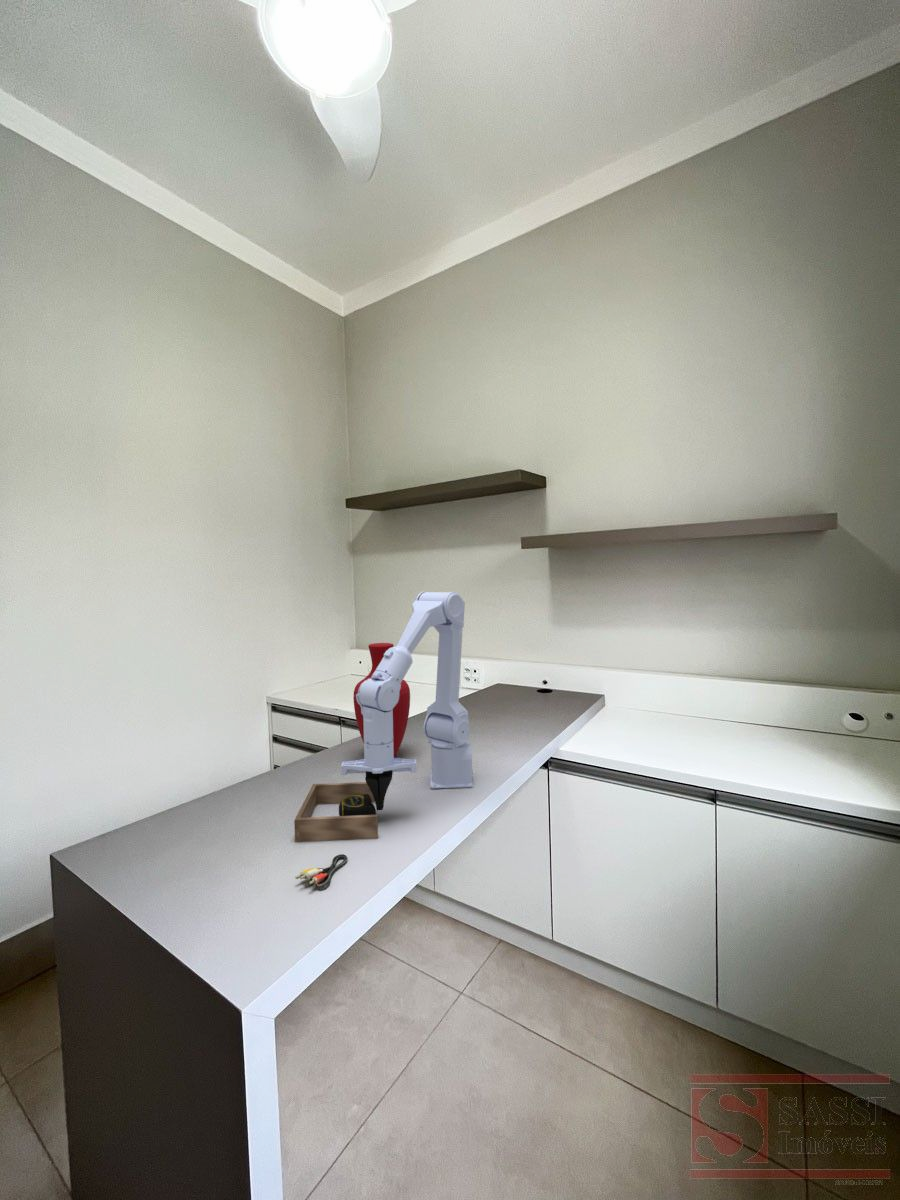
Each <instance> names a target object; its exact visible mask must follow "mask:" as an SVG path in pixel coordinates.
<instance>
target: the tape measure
mask: <svg viewBox="0 0 900 1200" xmlns="http://www.w3.org/2000/svg"><path fill="white" fill-rule="evenodd" d="M338 804H339V805H338V816H356V815H377V809H376V805H375V804H374V802H372V800H371V798H370V796H369V794H363V795H351V796H348V797H346V798H344V799H342V801H341V802H340V803H338Z"/></svg>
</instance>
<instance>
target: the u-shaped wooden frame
mask: <svg viewBox="0 0 900 1200" xmlns="http://www.w3.org/2000/svg"><path fill="white" fill-rule="evenodd" d="M363 794H369V796H370V798H371V800H372V803H375V800H374V797H373V794H372V792H371V790H370V788H369V786H368V785H367V783H366V781H359V782H357V781H356V782H354V781H353V782H332V783H331V782H329V783H313V784H312V786H311V787H310V789H309V791H308V793H307V795H306V796H305V799H304V801H303V803H302V805H301V807H300V809H299V810H298V812H297V814H296V816H295V818H294V820H293V822H294V824H293V825H294V842H295V843H298V842H322V841H343V840H346V841H347V840H365V839H366V840H368V839H379V838H378V837H379V825H378V823H379V820H378V818H379V815H378V814H376V815H356V816H339V815H337V816H317V817H316V816H315V817H312V815H313V813H314V811H315V809H316V807H317V805H327V804H329V805H330V804H340V802H341V801H342V799H344V798H346V797H348V796H351V795H363Z"/></svg>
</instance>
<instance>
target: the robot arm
mask: <svg viewBox="0 0 900 1200" xmlns="http://www.w3.org/2000/svg"><path fill="white" fill-rule="evenodd" d="M465 605H466V604H465V601H464V599H463V598H462V597H461V595H460V593H459V592H457V591H447V592H446V591H445V592H444V591H438V592H436V591H425V590H424V591H420V592H419V593H418V595H417V596H416V598H415V600H414V601H413V602H412V606H411V607H412V615H411V617H410V618H409V620H408V623H407V625H406V627H405V628H404V631H403V633H402V635H401V636H400V638H399V641H398V643H397V644H396V645H395V646H393V647H392V648H389V649H388V650H387V651H386V652H385V653H384V657H383V659H382V660H381V662H380V664H379V665H378V667H377V668H376V670H375V672H374V673H373V675H372V677H371V678H370V679H367V680H365V681H364V682H363V683H362V684H361V685H360V687H359V690H358V694H356V699H357V702H358V704H359V705H360V707H361V714H362V715H363V723H364V743H363V754H364V755H363V756H364V757H363V758H362V759H356V760H350V761H349V760H348V761H342V762H341V765H340V771H341V772H340V773H341V776H346V775H347V776H348V775H349V774H364V773H365V782H366V783H367V785H368V786H369V788H370V790H371V792H372V794H373V797H374V800H375V802H374V803H375V804H374V805H375V809H376V811H383V810H384V804H385V803H384V802H385V799H386V795H387V791H388V788H389V786H390V784H391V782H392V779H393V775H394V774H393V773H394V772H395V773H397V772H398V773H399V772H410V773H417V758H414V759H413V758H401V757H395V758H394V750H393V708H394V707H395V705H396V704H397V703H398V700H399V691H400V689H401V682H402V680H405V679H404V678H405V677H406V675H407V673H408V671H409V669H410V668H411V666H412V664H413V662H414V661H413V656H412V654H413V652H414V651H415V649H416V648H417V646H418V645H419V643H420V642H421V640H422V639H423V637H424V636H425V635H426V633H427V632H428V630H429V629H430V628H431V627H433V628H434V629H435V630H436V631H437V632H438V651H437V668H436V669H437V670H436V684H435V686H436V687H435V701H434V702H432V703H431V704H430V705H429V706H427V708H426V716H425V718H424V721H423V728H422V729H423V734H424V735H425V737H426V738H427V739H428V743H429V744H430V750H431V753H430V755H431V758H430V759H431V760H430V761H431V772H430V773H429V785H430V787H429V788H430V789H449V788H450V789H452V788H453V789H456V788H457V789H458V788H472V787H473V775H474V774H473V773H474V769H473V753H472V745H471V744H472V743H471V742H467V741H468V740H469V737H470V733H471V726H470V721H469V711H468V710H467V709H466V708H465V707H464V705H462V703H460V683H461V682H460V681H461V668H462V667H461V664H462V663H461V662H462V649H463V648H462V647H463V646H462V644H463V631H464V630H463V628H464V625H465V624H464V623H465V610H466V609H465Z"/></svg>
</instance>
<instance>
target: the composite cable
mask: <svg viewBox="0 0 900 1200" xmlns="http://www.w3.org/2000/svg"><path fill="white" fill-rule="evenodd" d="M340 860H341V862H340V863H339V864H338V865H337V863H338V862H339V861H340ZM342 860H343V861H342ZM347 862H348V856H347V855H346V854H344V853H343V854H337V855H336V856H334V857H333V859H332V861H331V864H330V866H328V867H325V868H323V867H316V868H312V867H311V868H308V869H305V870H302V871H301V872H299V875H296V876H295V880H298V879H300V880H308V881H307V882H305V886H304V887H305V888H308V887H311V886H312V885H313V886H314V885H315V888H316V890H317V891H323V890H325V889H326V888H328V886H330V884H331V880H332V877H333V876H334V874H335V873H336V872H338V871H339V870H340V869H341V868H343V867H344V866H345V865H346V864H347ZM324 880H325V881H324ZM323 881H324V882H323Z"/></svg>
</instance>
